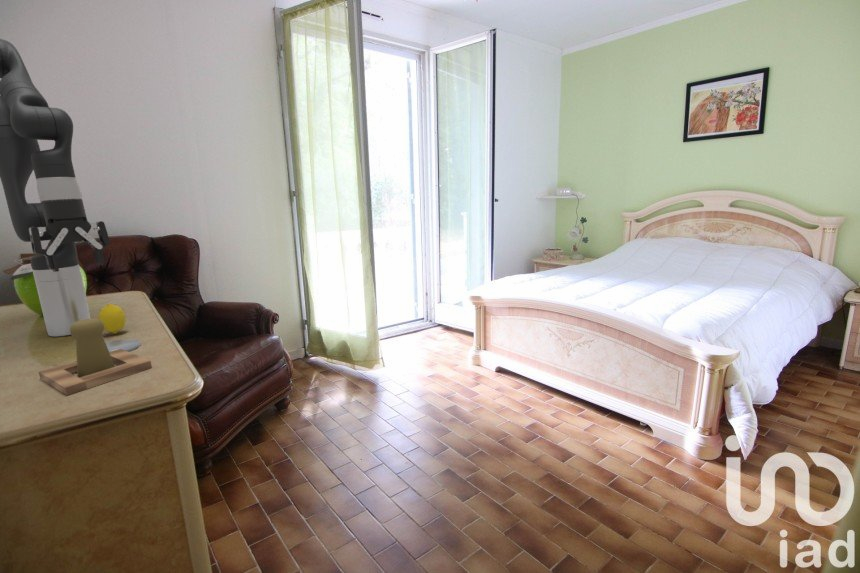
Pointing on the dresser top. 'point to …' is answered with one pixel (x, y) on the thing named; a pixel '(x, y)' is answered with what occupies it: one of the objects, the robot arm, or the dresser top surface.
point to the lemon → (112, 318)
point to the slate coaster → (123, 344)
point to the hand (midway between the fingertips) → (78, 268)
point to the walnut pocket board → (72, 384)
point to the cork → (90, 347)
